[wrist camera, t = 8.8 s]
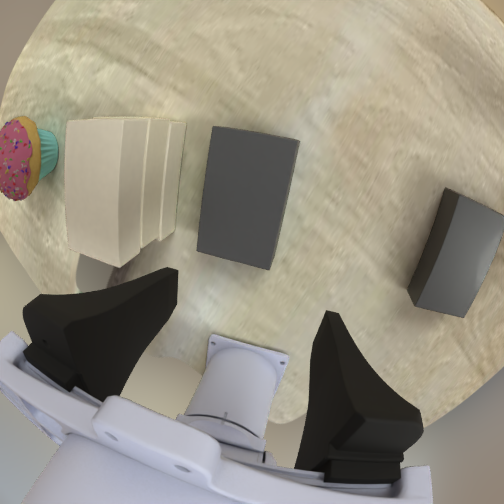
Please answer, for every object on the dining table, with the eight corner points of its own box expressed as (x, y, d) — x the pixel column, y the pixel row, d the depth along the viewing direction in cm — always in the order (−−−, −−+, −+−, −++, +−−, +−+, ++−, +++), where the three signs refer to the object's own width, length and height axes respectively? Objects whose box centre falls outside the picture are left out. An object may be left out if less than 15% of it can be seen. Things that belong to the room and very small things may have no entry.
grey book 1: (274, 256, 22) (269, 270, 20) (208, 239, 23) (196, 251, 20) (299, 140, 18) (298, 140, 16) (224, 127, 19) (212, 125, 16)
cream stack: (175, 231, 23) (143, 254, 18) (123, 217, 24) (88, 237, 19) (187, 120, 19) (152, 117, 15) (130, 116, 20) (90, 117, 15)
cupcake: (71, 188, 24) (-24, 227, 13) (31, 189, 25) (-46, 222, 14) (68, 107, 20) (-33, 119, 9) (28, 121, 22) (-54, 138, 11)
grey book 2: (454, 302, 20) (463, 318, 18) (406, 290, 20) (414, 306, 18) (492, 209, 16) (508, 218, 14) (445, 187, 17) (459, 194, 14)
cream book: (140, 252, 18) (119, 268, 16) (89, 236, 19) (68, 249, 17) (148, 119, 15) (123, 119, 12) (91, 118, 15) (66, 120, 13)
